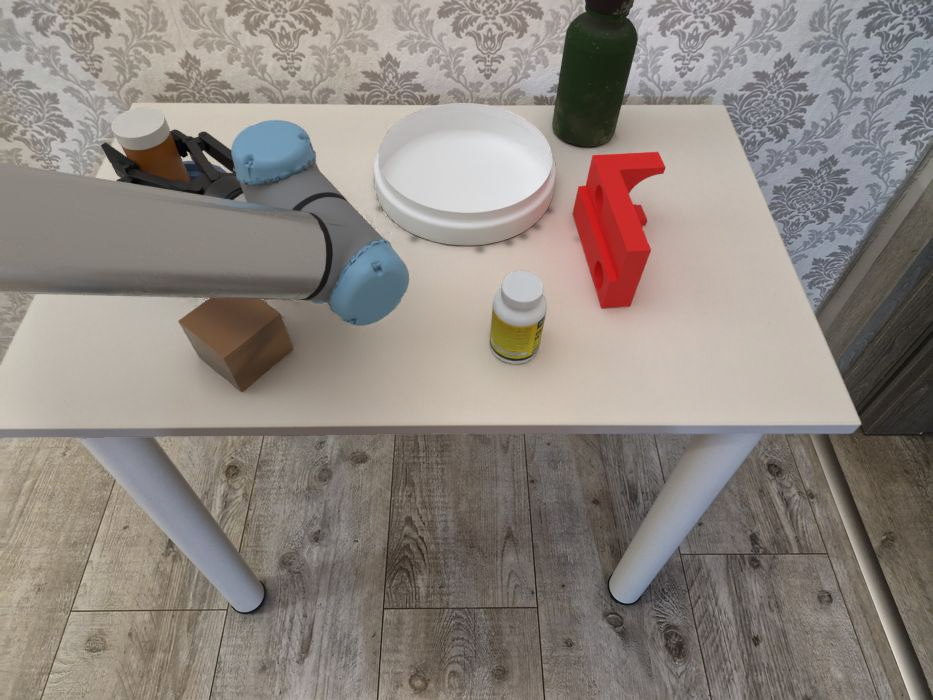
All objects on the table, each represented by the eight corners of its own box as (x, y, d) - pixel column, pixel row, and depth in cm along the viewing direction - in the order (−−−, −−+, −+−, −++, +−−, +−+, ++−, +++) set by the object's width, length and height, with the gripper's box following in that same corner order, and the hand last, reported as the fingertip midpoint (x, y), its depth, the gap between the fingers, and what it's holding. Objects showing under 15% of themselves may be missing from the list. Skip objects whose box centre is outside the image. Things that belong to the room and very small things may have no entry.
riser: (241, 392, 71) (223, 358, 66) (198, 356, 74) (177, 320, 68) (293, 349, 75) (280, 313, 69) (250, 316, 78) (234, 279, 72)
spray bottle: (546, 141, 100) (570, -23, 80) (558, 106, 106) (583, -56, 86) (609, 154, 99) (650, -11, 78) (618, 117, 105) (658, -45, 84)
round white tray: (556, 251, 86) (562, 221, 81) (364, 242, 86) (359, 212, 82) (549, 133, 102) (554, 103, 97) (386, 126, 102) (383, 95, 97)
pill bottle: (540, 366, 74) (552, 308, 65) (489, 365, 74) (494, 307, 65) (537, 326, 78) (549, 265, 69) (488, 324, 78) (494, 264, 69)
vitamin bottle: (152, 213, 82) (115, 142, 73) (143, 185, 85) (107, 114, 76) (199, 200, 83) (169, 129, 74) (189, 173, 87) (159, 102, 78)
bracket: (585, 155, 82) (658, 151, 83) (572, 214, 90) (639, 210, 91) (619, 252, 72) (702, 246, 72) (601, 308, 80) (676, 302, 81)
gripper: (190, 285, 72) (78, 199, 80) (310, 201, 80) (199, 131, 88) (165, 238, 65) (47, 150, 74) (299, 152, 74) (180, 82, 82)
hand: (130, 140), depth 81 cm, fingers closed on vitamin bottle, 6 cm apart
